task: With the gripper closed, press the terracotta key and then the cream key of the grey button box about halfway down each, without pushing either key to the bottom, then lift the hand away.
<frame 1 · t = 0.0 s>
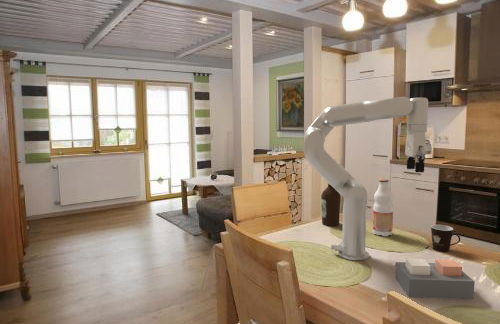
hand: (414, 170, 143), 37 cm above the table, tool pointing down, fingers open, 9 cm apart
coffee mug: (442, 251, 153), on the table
olive oil: (330, 224, 195), on the table
terracotta key: (448, 269, 118), point 7 cm above the table, slide at 0.0 cm
grey button box: (431, 287, 119), on the table
cream key: (417, 268, 119), point 7 cm above the table, slide at 0.0 cm
fruit juice: (382, 234, 177), on the table
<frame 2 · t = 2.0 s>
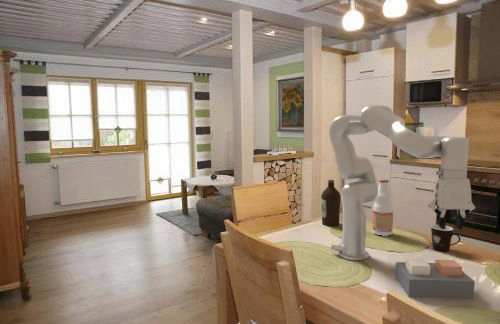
hand: (450, 227, 116), 21 cm above the table, tool pointing down, fingers open, 4 cm apart
nothing on the table moved.
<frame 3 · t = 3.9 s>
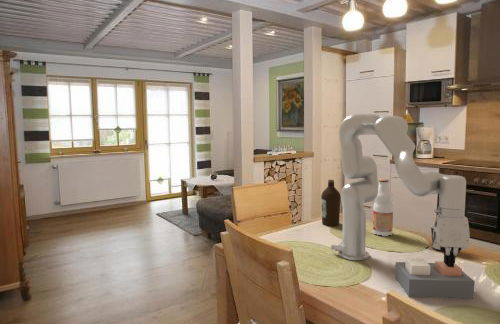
hand: (449, 265, 118), 8 cm above the table, tool pointing down, fingers closed
terracotta key: (448, 271, 118), point 6 cm above the table, slide at 0.7 cm, touching gripper
everything else where it was.
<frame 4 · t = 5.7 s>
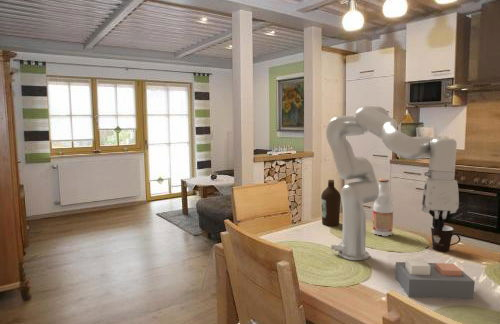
hand: (437, 229, 117), 21 cm above the table, tool pointing down, fingers closed
terracotta key: (447, 273, 118), point 5 cm above the table, slide at 1.3 cm
everything else where it was.
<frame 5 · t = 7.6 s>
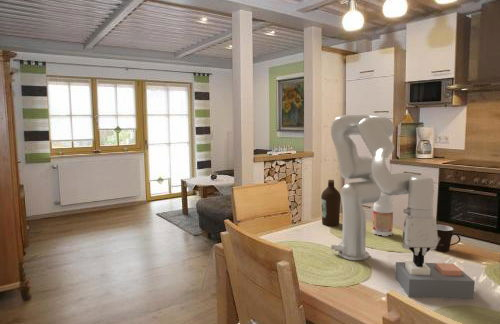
hand: (418, 265, 119), 8 cm above the table, tool pointing down, fingers closed
cream key: (417, 271, 119), point 6 cm above the table, slide at 1.0 cm, touching gripper
everything else where it was.
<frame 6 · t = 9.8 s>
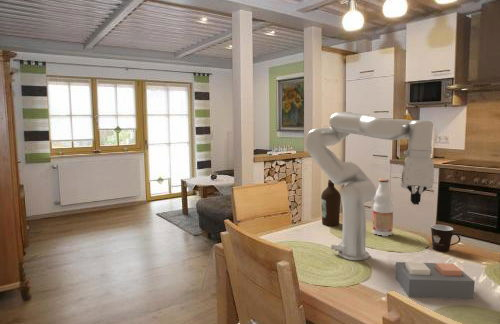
hand: (415, 203, 129), 27 cm above the table, tool pointing down, fingers closed
cream key: (417, 272, 119), point 5 cm above the table, slide at 1.3 cm
everything else where it was.
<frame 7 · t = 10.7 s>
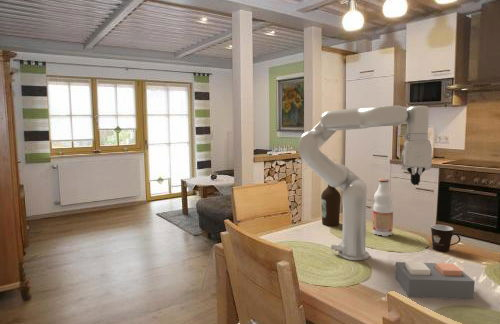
hand: (415, 184, 137), 32 cm above the table, tool pointing down, fingers closed
nothing on the table moved.
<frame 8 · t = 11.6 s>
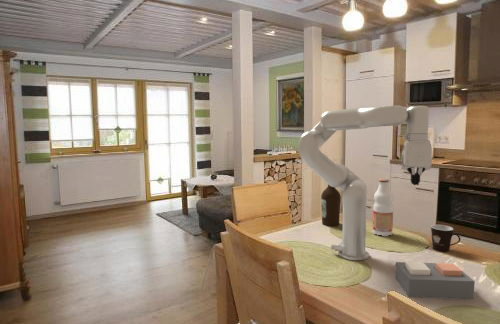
hand: (415, 184, 137), 32 cm above the table, tool pointing down, fingers closed
nothing on the table moved.
at the end: terracotta key slide at 1.3 cm; cream key slide at 1.3 cm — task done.
